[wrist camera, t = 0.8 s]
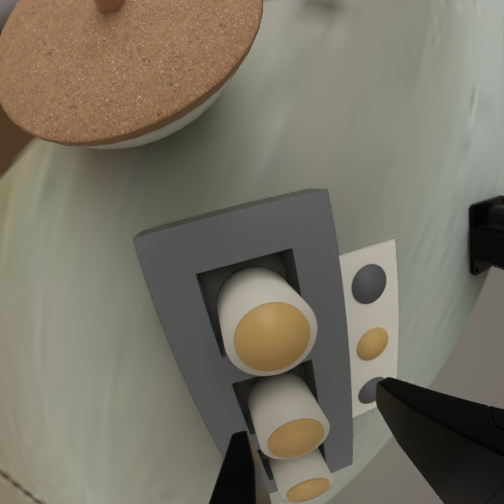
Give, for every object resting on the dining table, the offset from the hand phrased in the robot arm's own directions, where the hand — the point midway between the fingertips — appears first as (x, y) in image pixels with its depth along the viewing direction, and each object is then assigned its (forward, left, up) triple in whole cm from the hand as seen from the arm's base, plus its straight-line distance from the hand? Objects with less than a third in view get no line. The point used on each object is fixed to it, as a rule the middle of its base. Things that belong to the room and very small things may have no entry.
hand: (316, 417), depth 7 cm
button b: (0, +7, -9) cm, 11 cm away
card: (-8, +7, -11) cm, 15 cm away
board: (0, +7, -11) cm, 13 cm away
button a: (0, 0, -9) cm, 9 cm away
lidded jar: (+3, -14, -11) cm, 18 cm away
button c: (0, +14, -9) cm, 17 cm away
